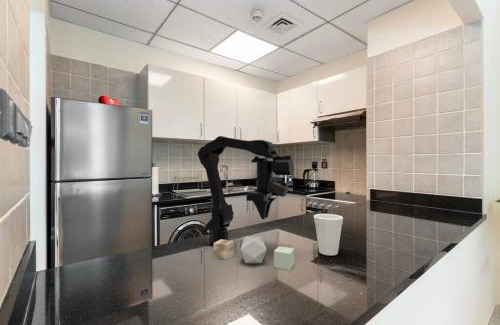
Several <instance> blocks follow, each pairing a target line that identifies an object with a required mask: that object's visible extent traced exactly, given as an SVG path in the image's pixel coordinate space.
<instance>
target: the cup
mask: <svg viewBox="0 0 500 325" xmlns="http://www.w3.org/2000/svg"><path fill="white" fill-rule="evenodd" d="M313 221H314V224H315V225H314V226H315V232H316V239H317V244H318V251H319V254H322V255H324V256H336V255H338V253H339V248H340V239H341V233H342V227H343V223H344V217H343V216H342V215H338V214H335V213H334V214H333V213H317V214H314V215H313Z"/></svg>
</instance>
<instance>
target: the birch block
mask: <svg viewBox="0 0 500 325" xmlns="http://www.w3.org/2000/svg"><path fill="white" fill-rule="evenodd" d="M234 256H235V240H229V239H228V240H223V239H221V240H219V241H217V242H215V243H214V246H213V258H214V259H217V260H224V261H228V260H230V258H232V257H234Z"/></svg>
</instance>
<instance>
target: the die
mask: <svg viewBox="0 0 500 325" xmlns="http://www.w3.org/2000/svg"><path fill="white" fill-rule="evenodd" d="M240 252H241V255H242V258H243V261H244V263H245V264H247V265H249V264H262V263H263V260H264V258H265V254H266V252H267V247H266V245H265V243H264V240H263V237H262V236H245V237H244V239H243V241H242V245H241V247H240Z"/></svg>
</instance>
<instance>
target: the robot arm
mask: <svg viewBox="0 0 500 325" xmlns="http://www.w3.org/2000/svg"><path fill="white" fill-rule="evenodd" d="M226 148H232V149H238V150H243V151H247V152H249V153H252V154H254V155H255V156H254V158H252V160H251V161H250V162H251V163H255V164H256V177H254V181H255V182H256V189H254V190H253V191H250V192H248V193H247V194H246V200H245V201H248V202H253V203H254V204H253V205H254V206H255V209H257V212H258V214H259V216H260V219H261V220H265V219H267V218H269V214H270V211H271V210H270V209H271V205H272V203H273V202H274V201H275V200H276V199H277V198H279V197H283V198H284V197H286V196H287V194H288V192H289V188H290V187H289V185H288V183H287V182H286V181H283V182H281V183H280V182H276V179H275V177H273V173H274V175H275V176H293V175H294V171H295V165H294V161H293V159H292V158H293V156H292V155H285V156H284V155H281V156H280V155H279V154H278V152H277V151H276V150H275V145H274V143H273V142H271V141H269V140H265V139H253V140H246V139H240V138H239V139H237V138H232V137H227V136H223V135H219V136H217V137H215V139H213V140H211V141H210V142H208V143H206V144H204V146H201V147H200V148H199V150H198V151H197V157H198V159H199V161H200V162H199V163H200V164H201V165H202V166H203V168H204V169H205V172H206V178H207V181H208V182H207V183H208V185H209V186H208V187H209V190H210V195H211V200H212V203H213V204H212V209H211V218H210V220H209V221H208V222H207V223H206V229H207V231H209V242H207V245H208V246H213V247H214V243H215V242H217V241H219V240H221V239H223V240H229V232H228V228H229V227H230V226H231V223H232V221H233V220H234V215H235V213H234V211H233V204H232V203H231V204H230V203H229V204H228V203H227V202H226V198H225V194H224V189H223V186H222V182H221V176H220V171H219V168H218V167H219V166H218V165H219V162H220V155H221V154H222V153H224V151H225V149H226ZM274 196H276V197H274Z"/></svg>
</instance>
